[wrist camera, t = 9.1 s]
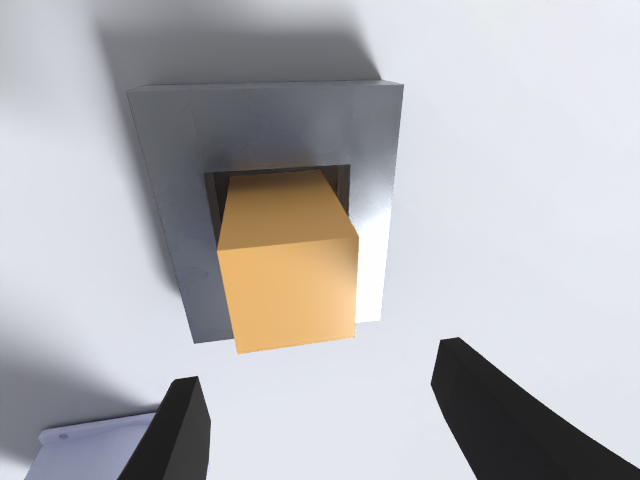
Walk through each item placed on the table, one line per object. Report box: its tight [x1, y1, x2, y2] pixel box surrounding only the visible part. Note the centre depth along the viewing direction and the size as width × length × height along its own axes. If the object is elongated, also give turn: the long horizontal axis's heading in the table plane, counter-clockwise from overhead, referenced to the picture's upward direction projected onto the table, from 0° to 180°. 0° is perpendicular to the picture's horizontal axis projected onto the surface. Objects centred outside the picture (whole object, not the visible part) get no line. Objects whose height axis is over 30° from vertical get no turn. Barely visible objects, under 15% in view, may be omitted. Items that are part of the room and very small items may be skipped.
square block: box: [217, 170, 359, 354], centre depth 14 cm, size 4×4×7 cm
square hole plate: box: [127, 80, 404, 344], centre depth 16 cm, size 10×12×2 cm
